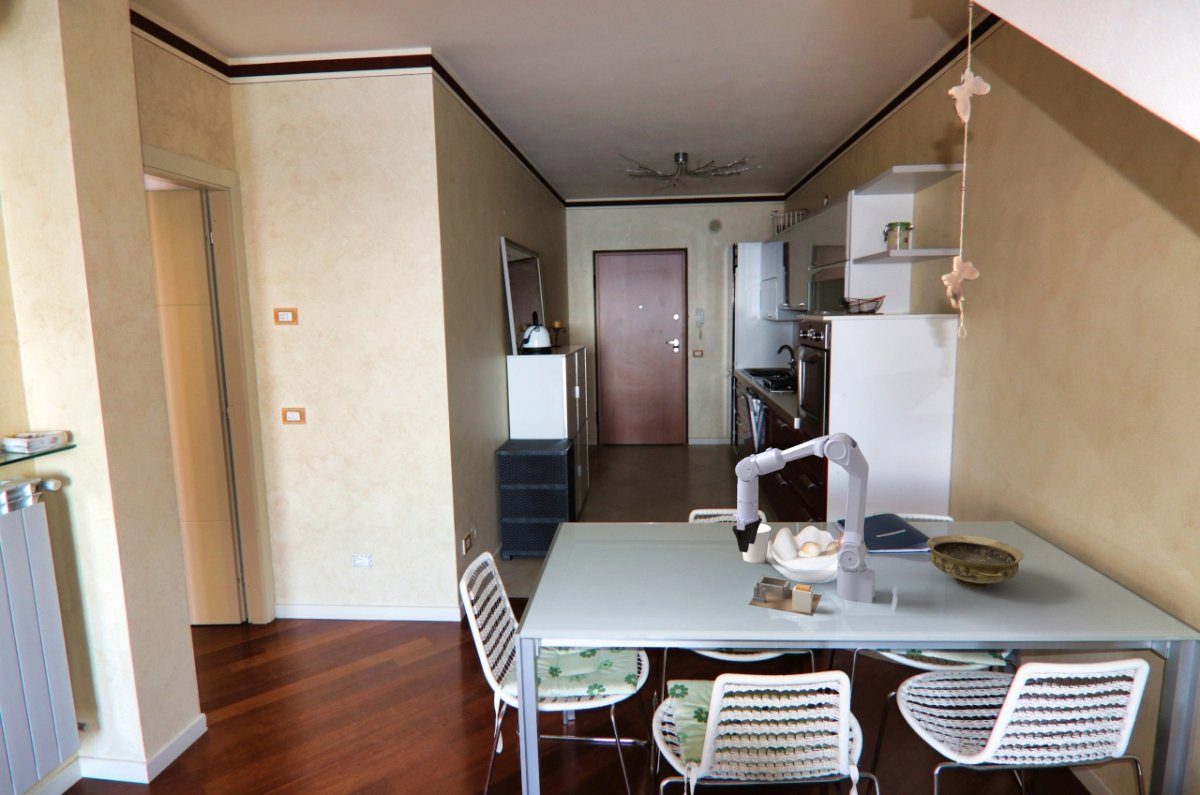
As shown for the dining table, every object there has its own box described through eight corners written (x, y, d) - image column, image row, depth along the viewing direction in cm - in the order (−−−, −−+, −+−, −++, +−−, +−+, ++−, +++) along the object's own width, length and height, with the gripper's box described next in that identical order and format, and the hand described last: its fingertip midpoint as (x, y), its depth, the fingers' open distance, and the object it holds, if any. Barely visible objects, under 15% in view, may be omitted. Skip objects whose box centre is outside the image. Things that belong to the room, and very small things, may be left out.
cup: (743, 554, 218) (744, 520, 217) (774, 559, 213) (775, 525, 212) (732, 564, 210) (733, 529, 209) (764, 570, 205) (765, 534, 204)
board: (821, 598, 185) (821, 595, 184) (812, 619, 172) (812, 615, 172) (761, 588, 192) (761, 585, 192) (748, 608, 179) (748, 604, 179)
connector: (812, 608, 176) (813, 585, 176) (810, 613, 174) (810, 590, 173) (794, 605, 178) (794, 582, 178) (792, 609, 176) (792, 587, 175)
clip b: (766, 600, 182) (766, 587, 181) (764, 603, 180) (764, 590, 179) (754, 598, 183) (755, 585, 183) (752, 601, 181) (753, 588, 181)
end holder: (790, 590, 188) (790, 579, 187) (785, 599, 182) (785, 588, 182) (761, 585, 191) (762, 575, 191) (756, 594, 186) (756, 583, 185)
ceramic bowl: (1042, 607, 177) (1045, 570, 176) (942, 601, 182) (943, 564, 180) (998, 565, 207) (1000, 532, 205) (913, 560, 211) (914, 529, 210)
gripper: (740, 492, 202) (740, 537, 204) (726, 505, 189) (725, 553, 191) (764, 495, 199) (764, 541, 200) (751, 508, 186) (751, 557, 188)
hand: (747, 547), depth 195 cm, fingers open, 7 cm apart
